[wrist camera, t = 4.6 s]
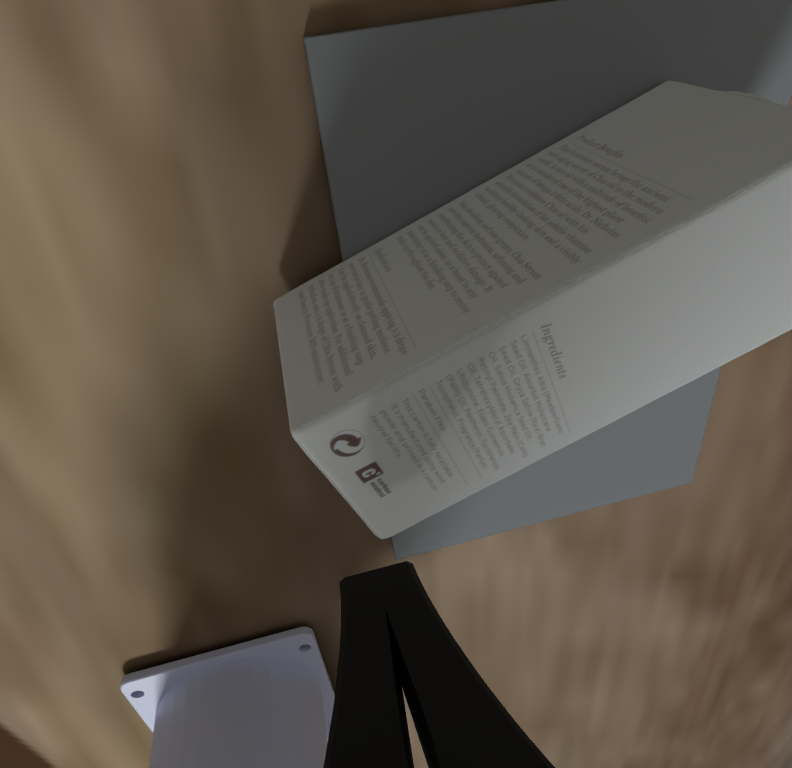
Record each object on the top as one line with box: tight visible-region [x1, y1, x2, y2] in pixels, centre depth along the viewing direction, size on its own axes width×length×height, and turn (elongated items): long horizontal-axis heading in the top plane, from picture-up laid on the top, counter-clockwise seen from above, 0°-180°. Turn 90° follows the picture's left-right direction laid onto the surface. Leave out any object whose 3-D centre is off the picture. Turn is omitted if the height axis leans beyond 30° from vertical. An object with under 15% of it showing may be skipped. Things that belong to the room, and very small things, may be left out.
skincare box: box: [273, 80, 792, 539], centre depth 14 cm, size 6×4×12 cm
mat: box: [303, 0, 792, 560], centre depth 19 cm, size 18×13×1 cm
